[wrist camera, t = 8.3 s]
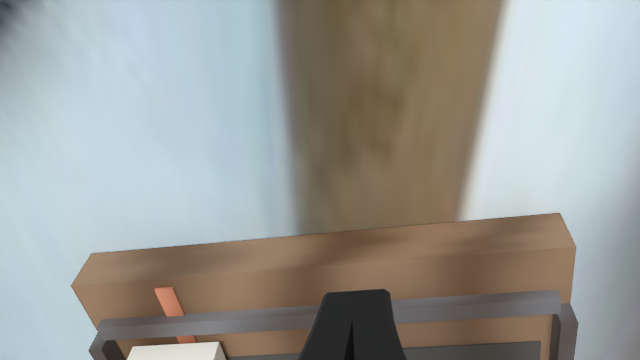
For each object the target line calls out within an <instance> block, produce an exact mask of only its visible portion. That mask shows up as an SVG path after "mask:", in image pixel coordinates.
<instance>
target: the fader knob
mask: <svg viewBox="0 0 640 360" xmlns="http://www.w3.org/2000/svg"><path fill="white" fill-rule="evenodd" d="M127 360H226V358H225V355H224V353H223V350H222V348H221V346H220V343H219V342H205V343H187V344H169V345H152V346H134V347H132V350H131V352H130V354H129V356H128V358H127Z"/></svg>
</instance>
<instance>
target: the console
mask: <svg viewBox="0 0 640 360" xmlns="http://www.w3.org/2000/svg"><path fill="white" fill-rule="evenodd" d="M575 253H576V245H575V243H574V241H573V239H572V237H571V235H570V233H569V231H568V229H567V226H566V224H565V222H564V220H563V218H562V216H561V214H560V213H553V214H542V215H530V216H519V217H507V218H496V219H484V220H473V221H461V222H450V223H438V224H427V225H415V226H404V227H392V228H381V229H369V230H358V231H346V232H335V233H323V234H312V235H300V236H289V237H278V238H266V239H255V240H243V241H232V242H220V243H209V244H197V245H186V246H174V247H163V248H151V249H140V250H128V251H117V252H105V253H94V254H91V255H90V256H89V258H88V260H87V261H86V263H85V264H84V266H83V267H82V269H81V270H80V272H79V274H78V275H77V277H76V278H75V280H74V281H73V283H72V285H71V287H72V289H73V290H74V292H75V294H76V295H77V297H78V299H79V301H80V302H81V304H82V306H83V307H84V309H85V311H86V313H87V314H88V316H89V318H90V319H91V321H92V323H93V325H94V326H95V328H96V330H97V331H98V333H97V335H96V337H95V339H94V341H93V343H92V345H91V347H90V349H89V350H88V351H89V352H90V354H91V356H92V357H93V359H94V360H127V358H128V356H129V354H130V352H131V350H132V347H134V346H152V345H169V344H187V343H205V342H219V343H220V346H221V348H222V350H223V353H224V355H225V358H226V360H298V358H299V356H300V354H301V352H302V350H303V348H304V346H305V343H306V341H307V339H308V336H309V334H310V332H311V329H312V327H313V324H314V322H315V319H316V316H317V314H318V311H319V308H320V305H321V302H322V299H323V296H324V295H326V294H327V293H329V292H344V291H358V290H373V289H385V290H387V291H389V292H390V296H391V303H392V310H393V317H394V322H395V326H396V329H397V333H398V336H399V339H400V343H401V346H402V349H403V351H404V354H405V357H406V359H407V360H574V353H575V345H576V337H577V329H578V322H577V319H576V317H575V314H574V312H573V309H572V307H571V305H570V299H571V289H572V280H573V271H574V262H575Z"/></svg>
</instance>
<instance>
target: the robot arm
mask: <svg viewBox="0 0 640 360" xmlns="http://www.w3.org/2000/svg"><path fill="white" fill-rule="evenodd" d="M298 360H407V359H406V357H405V354H404V351H403V349H402V346H401V343H400V339H399V336H398V333H397V329H396V326H395V322H394V317H393V310H392V303H391V296H390V292H389V291H387V290H385V289H373V290H358V291H344V292H329V293H327V294H326V295H324V296H323V299H322V302H321V305H320V308H319V311H318V314H317V316H316V319H315V322H314V324H313V327H312V329H311V332H310V334H309V336H308V339H307V341H306V343H305V346H304V348H303V350H302V352H301V354H300V356H299V358H298Z"/></svg>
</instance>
